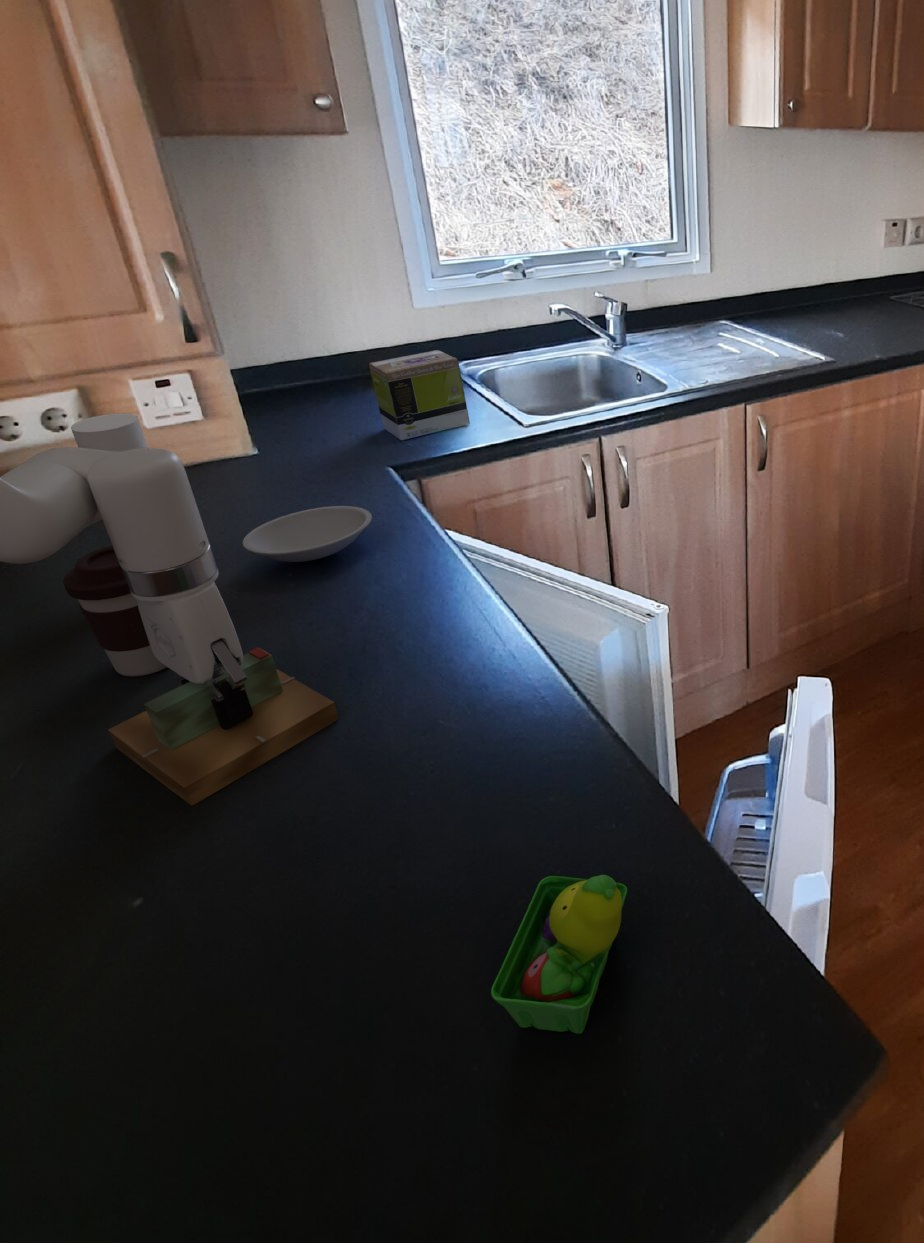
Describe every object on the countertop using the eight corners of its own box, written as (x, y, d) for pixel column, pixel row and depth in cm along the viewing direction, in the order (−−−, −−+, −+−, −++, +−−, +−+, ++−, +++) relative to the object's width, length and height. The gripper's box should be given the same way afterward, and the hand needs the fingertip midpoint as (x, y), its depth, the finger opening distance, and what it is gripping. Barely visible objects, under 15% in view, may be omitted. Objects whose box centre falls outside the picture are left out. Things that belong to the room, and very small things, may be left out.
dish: (361, 524, 142) (354, 496, 140) (391, 556, 133) (385, 527, 130) (241, 557, 132) (232, 528, 130) (264, 595, 122) (255, 564, 120)
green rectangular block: (171, 750, 90) (155, 710, 88) (158, 741, 91) (142, 702, 89) (283, 690, 99) (271, 653, 97) (270, 683, 100) (258, 646, 98)
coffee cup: (83, 673, 105) (37, 567, 99) (162, 631, 114) (124, 531, 107) (138, 693, 102) (94, 584, 96) (215, 648, 111) (180, 545, 104)
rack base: (191, 807, 86) (183, 787, 85) (113, 747, 94) (105, 728, 93) (340, 719, 99) (335, 700, 97) (261, 672, 106) (255, 655, 105)
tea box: (451, 413, 191) (439, 348, 184) (470, 425, 184) (459, 358, 178) (382, 429, 182) (367, 360, 175) (400, 442, 175) (385, 371, 169)
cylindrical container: (149, 604, 120) (85, 435, 108) (125, 589, 123) (60, 424, 112) (203, 582, 125) (147, 420, 114) (178, 569, 128) (122, 409, 117)
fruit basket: (548, 914, 76) (533, 820, 71) (647, 924, 75) (638, 829, 70) (495, 1041, 65) (473, 942, 60) (609, 1054, 65) (596, 955, 60)
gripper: (89, 562, 88) (146, 704, 96) (175, 612, 80) (230, 761, 88) (168, 534, 94) (216, 670, 102) (256, 578, 86) (300, 721, 94)
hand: (222, 711), depth 95 cm, fingers open, 5 cm apart
